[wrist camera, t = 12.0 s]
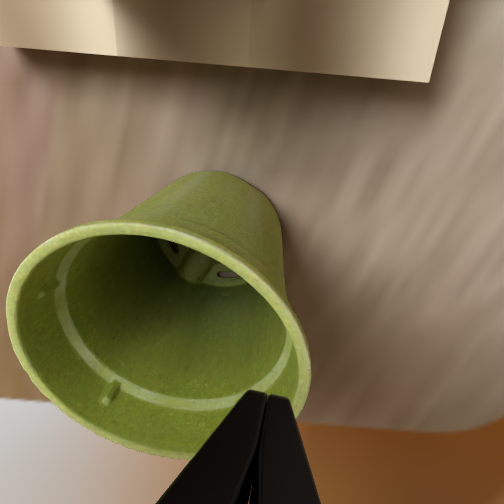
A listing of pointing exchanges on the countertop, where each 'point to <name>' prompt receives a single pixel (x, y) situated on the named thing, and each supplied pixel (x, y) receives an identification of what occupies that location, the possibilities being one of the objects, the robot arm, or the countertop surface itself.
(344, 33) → the birch board
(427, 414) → the countertop surface
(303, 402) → the plant pot
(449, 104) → the countertop surface
